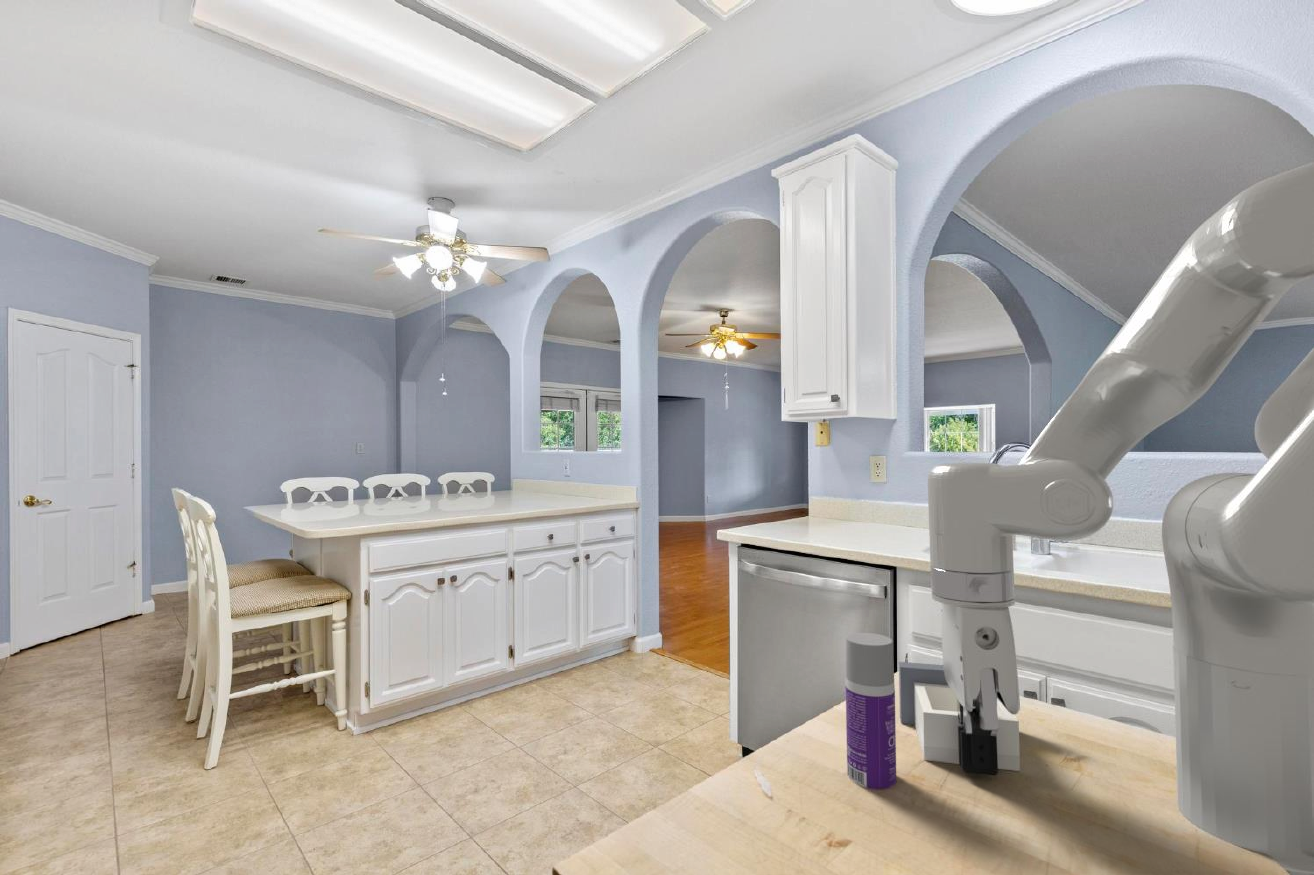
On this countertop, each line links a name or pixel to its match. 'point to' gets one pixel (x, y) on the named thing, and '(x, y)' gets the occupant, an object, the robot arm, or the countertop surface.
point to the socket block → (941, 727)
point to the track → (907, 678)
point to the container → (870, 711)
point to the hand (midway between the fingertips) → (978, 770)
